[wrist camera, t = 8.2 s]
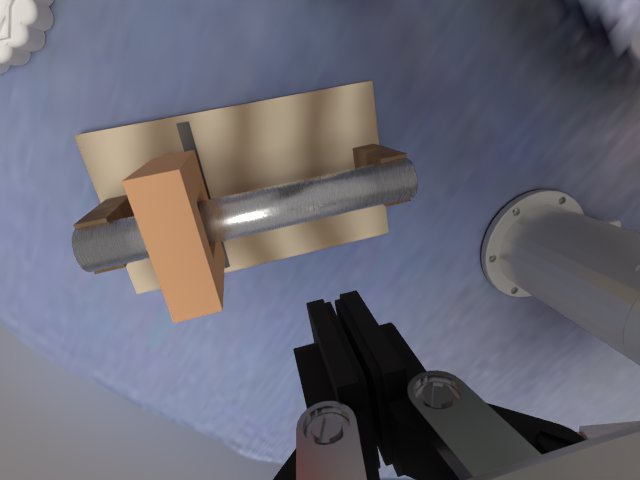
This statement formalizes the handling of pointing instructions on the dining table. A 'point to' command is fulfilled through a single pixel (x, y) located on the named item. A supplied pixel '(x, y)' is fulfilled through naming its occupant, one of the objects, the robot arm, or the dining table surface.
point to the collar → (178, 234)
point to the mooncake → (22, 30)
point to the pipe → (257, 211)
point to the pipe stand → (250, 166)
